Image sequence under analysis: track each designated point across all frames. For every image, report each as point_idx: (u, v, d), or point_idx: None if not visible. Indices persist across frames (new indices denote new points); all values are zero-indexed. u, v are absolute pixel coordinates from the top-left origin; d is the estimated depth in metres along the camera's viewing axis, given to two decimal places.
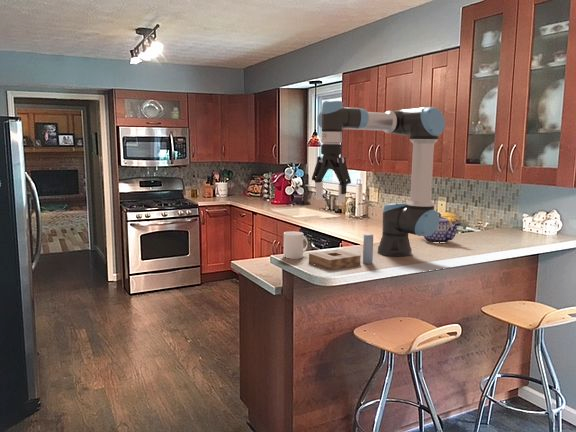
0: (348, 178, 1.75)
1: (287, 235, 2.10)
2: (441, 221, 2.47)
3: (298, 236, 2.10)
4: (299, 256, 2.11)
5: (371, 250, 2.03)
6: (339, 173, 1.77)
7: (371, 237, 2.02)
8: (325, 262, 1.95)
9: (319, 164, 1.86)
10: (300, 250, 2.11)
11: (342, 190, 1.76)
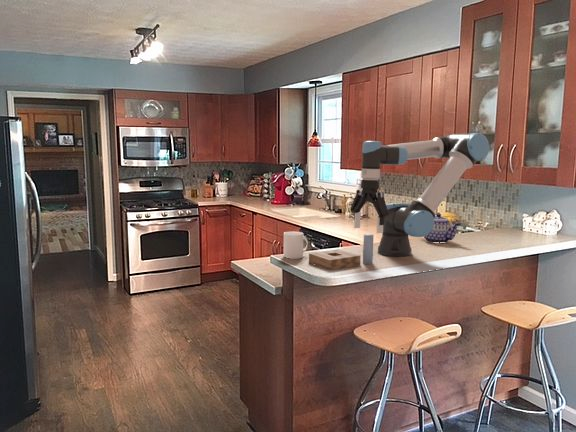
0: (386, 211, 1.95)
1: (287, 235, 2.10)
2: (441, 221, 2.47)
3: (298, 236, 2.10)
4: (299, 256, 2.11)
5: (371, 250, 2.03)
6: (378, 206, 1.97)
7: (371, 237, 2.02)
8: (325, 262, 1.95)
9: (358, 196, 2.06)
10: (300, 250, 2.11)
11: (380, 222, 1.96)
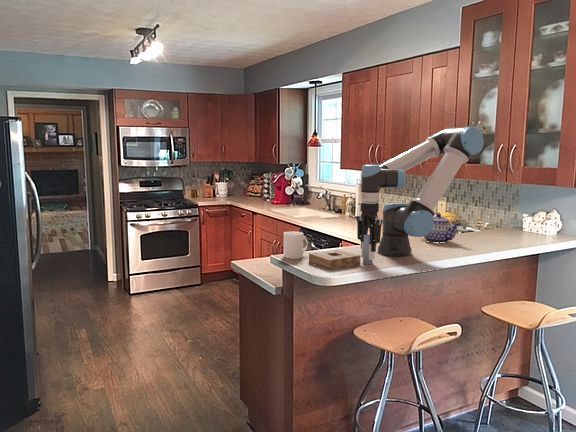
0: (378, 239, 2.00)
1: (287, 235, 2.10)
2: (441, 221, 2.47)
3: (298, 236, 2.10)
4: (299, 256, 2.11)
5: None
6: (373, 232, 2.01)
7: None
8: (325, 262, 1.95)
9: (360, 222, 2.07)
10: (300, 250, 2.11)
11: (372, 248, 2.02)
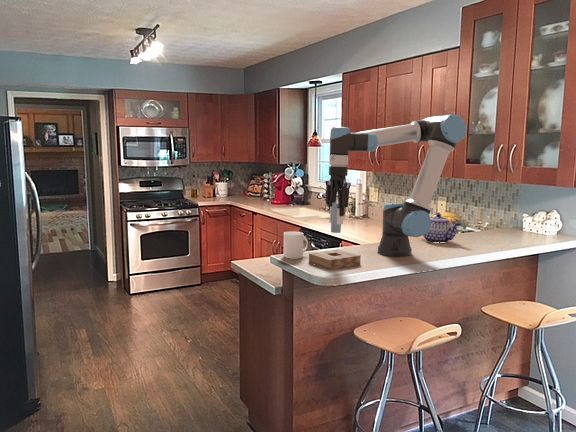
0: (347, 203, 1.95)
1: (287, 235, 2.10)
2: (441, 221, 2.47)
3: (298, 236, 2.10)
4: (299, 256, 2.11)
5: None
6: (341, 196, 1.97)
7: None
8: (325, 262, 1.95)
9: (329, 187, 2.02)
10: (300, 250, 2.11)
11: (340, 213, 1.97)
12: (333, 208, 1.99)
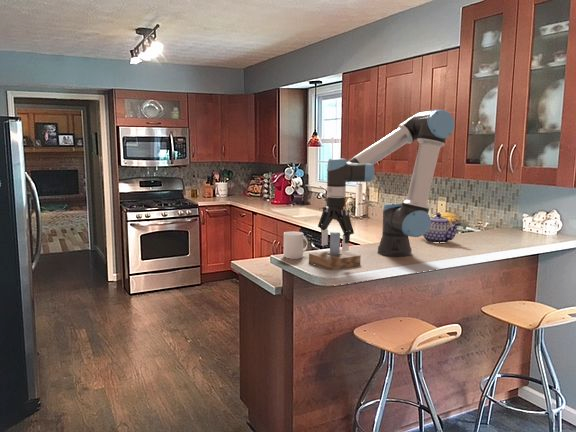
0: (351, 229, 1.93)
1: (287, 235, 2.10)
2: (441, 221, 2.47)
3: (298, 236, 2.10)
4: (299, 256, 2.11)
5: (338, 248, 2.01)
6: (343, 224, 1.96)
7: (338, 235, 2.00)
8: (325, 262, 1.95)
9: (325, 214, 2.05)
10: (300, 250, 2.11)
11: (346, 240, 1.95)
12: (331, 238, 2.00)
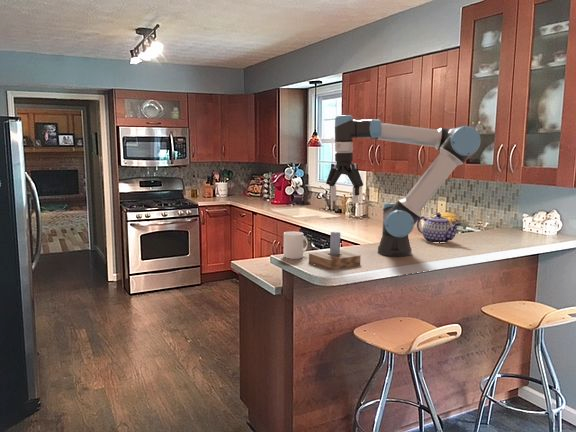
0: (361, 181, 2.03)
1: (287, 235, 2.10)
2: (441, 221, 2.47)
3: (298, 236, 2.10)
4: (299, 256, 2.11)
5: (338, 248, 2.01)
6: (352, 177, 2.06)
7: (338, 235, 2.00)
8: (325, 262, 1.95)
9: (333, 170, 2.14)
10: (300, 250, 2.11)
11: (356, 192, 2.05)
12: (332, 238, 2.00)
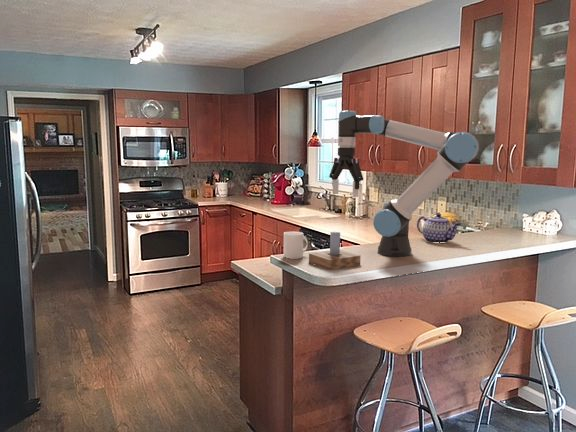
0: (361, 176, 2.09)
1: (287, 235, 2.10)
2: (441, 221, 2.47)
3: (298, 236, 2.10)
4: (299, 256, 2.11)
5: (338, 248, 2.01)
6: (353, 172, 2.11)
7: (338, 235, 2.00)
8: (325, 262, 1.95)
9: (336, 164, 2.20)
10: (300, 250, 2.11)
11: (356, 186, 2.10)
12: (331, 238, 2.01)
